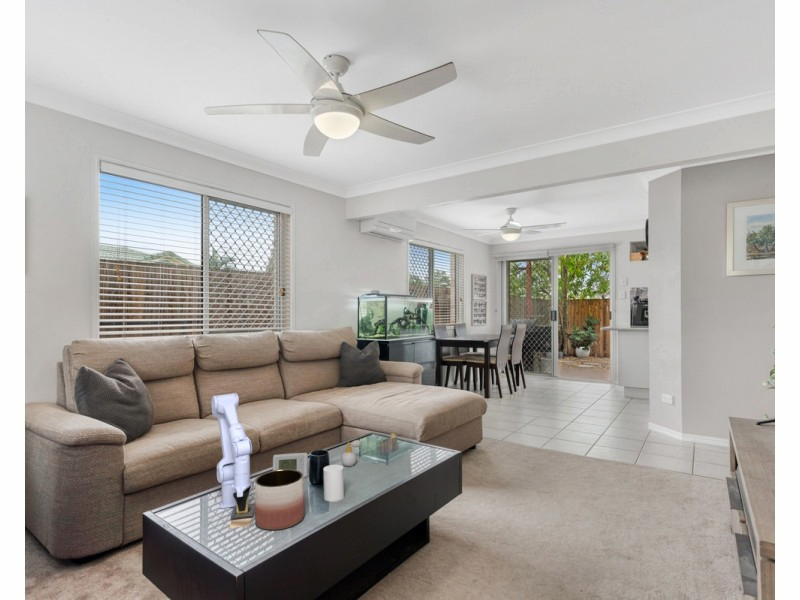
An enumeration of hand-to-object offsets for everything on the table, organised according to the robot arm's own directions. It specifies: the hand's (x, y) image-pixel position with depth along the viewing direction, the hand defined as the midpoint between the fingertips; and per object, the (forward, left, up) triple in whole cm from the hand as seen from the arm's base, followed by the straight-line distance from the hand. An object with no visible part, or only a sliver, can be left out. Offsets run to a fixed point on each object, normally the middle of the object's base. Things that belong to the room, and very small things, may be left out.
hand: (242, 508), depth 168 cm
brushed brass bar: (0, 0, -3) cm, 3 cm away
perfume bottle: (-43, +46, -3) cm, 63 cm away
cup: (-7, +35, -3) cm, 36 cm away
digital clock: (-35, +17, -3) cm, 39 cm away
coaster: (+7, 0, -3) cm, 7 cm away
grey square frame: (-1, 0, -3) cm, 3 cm away
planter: (+7, +14, -3) cm, 16 cm away
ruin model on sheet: (-56, +68, -4) cm, 88 cm away
